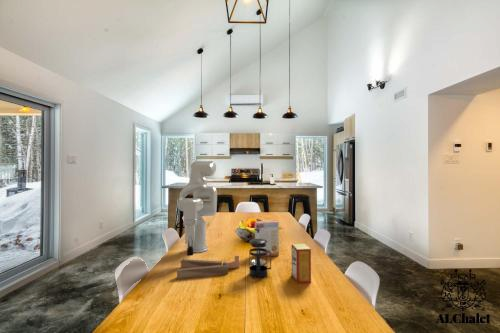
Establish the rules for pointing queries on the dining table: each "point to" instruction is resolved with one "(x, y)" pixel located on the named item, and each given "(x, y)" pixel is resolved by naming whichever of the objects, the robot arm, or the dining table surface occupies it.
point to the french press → (258, 258)
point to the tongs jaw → (198, 263)
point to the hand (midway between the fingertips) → (190, 255)
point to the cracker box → (269, 236)
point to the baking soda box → (301, 263)
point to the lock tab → (234, 262)
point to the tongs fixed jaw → (202, 271)
